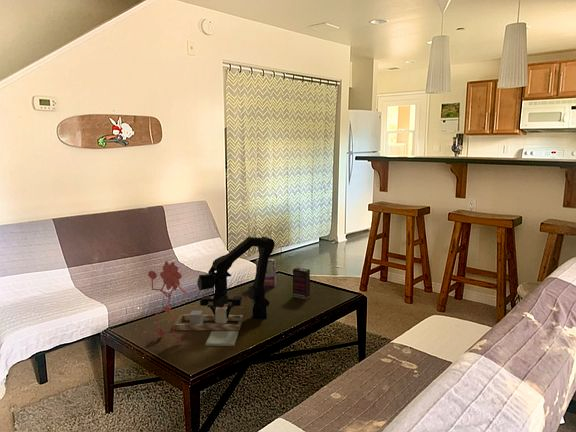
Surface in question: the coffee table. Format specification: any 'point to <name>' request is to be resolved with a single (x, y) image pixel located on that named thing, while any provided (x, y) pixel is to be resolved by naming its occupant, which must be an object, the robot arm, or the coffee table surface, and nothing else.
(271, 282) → the candy bar box
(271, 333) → the coffee table surface
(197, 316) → the grey block
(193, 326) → the bin
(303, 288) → the supplement box
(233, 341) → the sage board
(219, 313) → the labelled block
